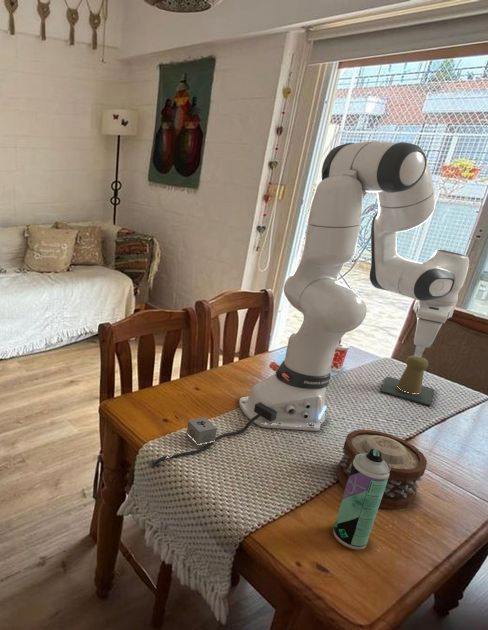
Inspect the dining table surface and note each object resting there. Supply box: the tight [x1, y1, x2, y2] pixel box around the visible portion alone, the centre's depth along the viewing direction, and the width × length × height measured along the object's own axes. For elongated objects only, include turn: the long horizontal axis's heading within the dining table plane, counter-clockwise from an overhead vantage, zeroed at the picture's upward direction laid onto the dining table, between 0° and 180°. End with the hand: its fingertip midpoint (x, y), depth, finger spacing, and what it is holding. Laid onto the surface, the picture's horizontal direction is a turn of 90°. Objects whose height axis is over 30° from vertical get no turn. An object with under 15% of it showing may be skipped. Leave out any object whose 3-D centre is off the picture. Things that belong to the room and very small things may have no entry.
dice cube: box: [185, 416, 218, 450], centre depth 111 cm, size 5×5×5 cm
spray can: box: [332, 449, 390, 551], centre depth 80 cm, size 6×6×20 cm
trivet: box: [380, 376, 435, 407], centre depth 134 cm, size 12×12×1 cm
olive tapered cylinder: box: [396, 355, 429, 395], centre depth 132 cm, size 6×6×11 cm
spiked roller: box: [336, 429, 428, 510], centre depth 95 cm, size 15×11×15 cm
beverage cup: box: [330, 339, 351, 372], centre depth 146 cm, size 6×6×14 cm
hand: (418, 351), depth 129 cm, fingers open, 8 cm apart
